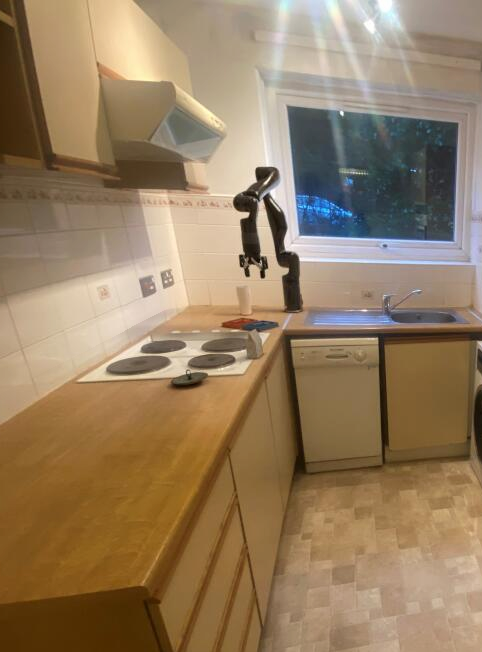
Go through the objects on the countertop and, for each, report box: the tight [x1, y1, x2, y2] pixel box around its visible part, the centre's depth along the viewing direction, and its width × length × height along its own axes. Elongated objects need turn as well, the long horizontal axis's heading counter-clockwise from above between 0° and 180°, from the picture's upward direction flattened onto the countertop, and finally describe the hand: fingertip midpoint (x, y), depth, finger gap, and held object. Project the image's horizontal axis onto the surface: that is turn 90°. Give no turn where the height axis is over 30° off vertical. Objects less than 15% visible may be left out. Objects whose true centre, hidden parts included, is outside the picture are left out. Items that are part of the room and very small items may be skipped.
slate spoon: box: [251, 322, 271, 327], centre depth 211 cm, size 10×3×2 cm, turn 163°
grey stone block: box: [244, 329, 264, 359], centre depth 168 cm, size 4×7×10 cm, turn 5°
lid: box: [170, 369, 209, 386], centre depth 139 cm, size 11×10×5 cm
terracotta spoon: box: [231, 319, 251, 324], centre depth 214 cm, size 10×3×2 cm, turn 163°
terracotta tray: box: [221, 317, 259, 330], centre depth 214 cm, size 13×10×2 cm
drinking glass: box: [235, 285, 253, 316], centre depth 234 cm, size 7×7×15 cm
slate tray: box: [241, 319, 279, 333], centre depth 211 cm, size 13×10×2 cm
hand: (255, 277), depth 207 cm, fingers open, 8 cm apart
